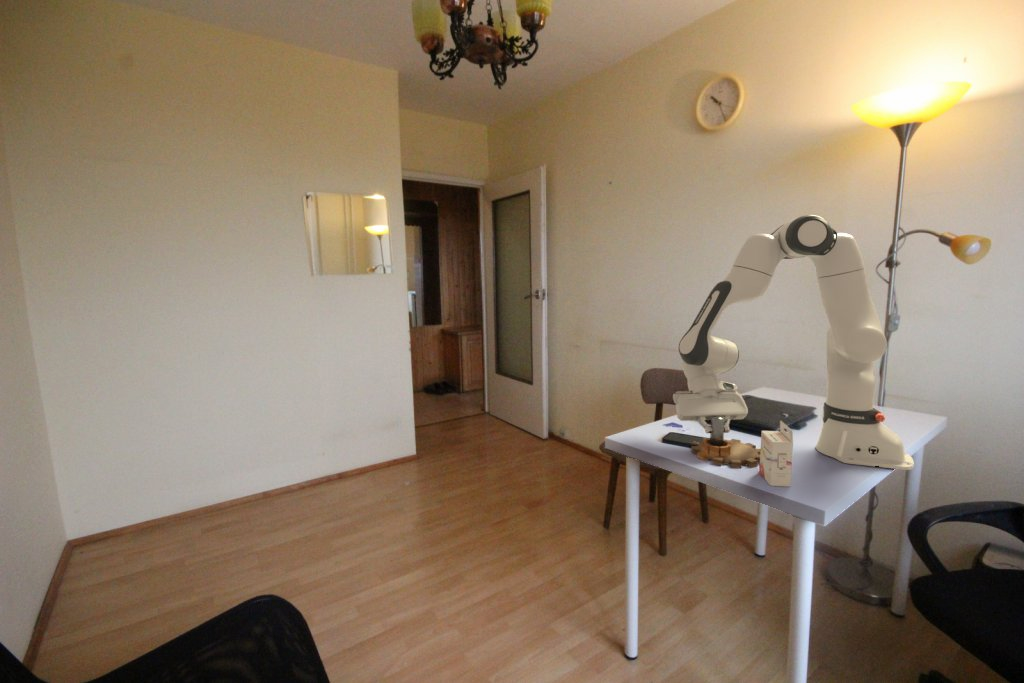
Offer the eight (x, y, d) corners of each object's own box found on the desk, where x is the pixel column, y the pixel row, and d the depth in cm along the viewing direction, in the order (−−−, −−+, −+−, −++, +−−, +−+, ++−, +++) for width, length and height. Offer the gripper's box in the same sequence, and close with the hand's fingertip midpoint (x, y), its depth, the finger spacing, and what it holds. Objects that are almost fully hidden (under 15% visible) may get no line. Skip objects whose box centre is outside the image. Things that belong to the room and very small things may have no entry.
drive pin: (720, 445, 136) (722, 415, 135) (724, 449, 133) (726, 419, 131) (708, 444, 137) (709, 415, 135) (711, 449, 133) (713, 419, 132)
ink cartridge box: (757, 471, 124) (760, 419, 122) (777, 472, 123) (781, 419, 121) (769, 486, 116) (773, 430, 114) (791, 487, 115) (795, 430, 113)
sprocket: (767, 449, 139) (768, 436, 139) (761, 473, 123) (761, 459, 122) (698, 437, 150) (699, 425, 149) (684, 458, 134) (684, 445, 133)
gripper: (674, 386, 139) (685, 428, 131) (741, 384, 139) (757, 426, 131) (668, 396, 144) (679, 437, 136) (733, 395, 144) (748, 436, 136)
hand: (718, 432), depth 133 cm, fingers closed on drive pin, 4 cm apart
